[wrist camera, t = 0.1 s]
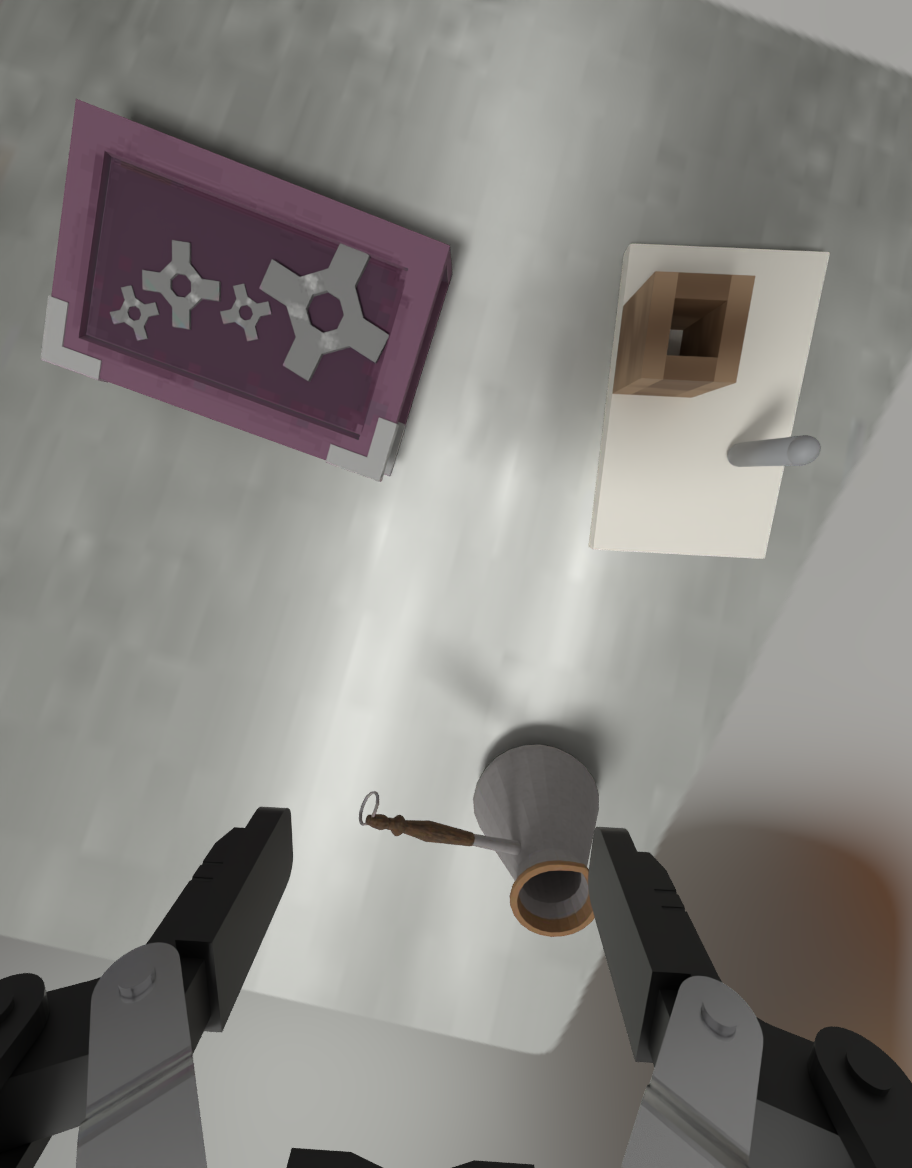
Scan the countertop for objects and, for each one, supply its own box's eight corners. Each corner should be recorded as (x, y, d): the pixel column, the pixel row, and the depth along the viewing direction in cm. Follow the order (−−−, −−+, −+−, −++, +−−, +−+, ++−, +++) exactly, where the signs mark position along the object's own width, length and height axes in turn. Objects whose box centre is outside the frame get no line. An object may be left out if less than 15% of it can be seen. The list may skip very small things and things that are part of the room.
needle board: (623, 253, 34) (684, 166, 24) (814, 261, 34) (951, 178, 24) (588, 546, 39) (627, 570, 30) (753, 555, 39) (846, 582, 29)
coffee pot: (615, 769, 44) (686, 914, 30) (544, 850, 47) (579, 1022, 32) (428, 653, 42) (407, 749, 27) (365, 745, 44) (314, 878, 30)
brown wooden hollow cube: (622, 306, 34) (655, 271, 28) (705, 309, 33) (755, 275, 28) (612, 393, 35) (640, 378, 29) (691, 397, 35) (736, 382, 29)
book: (95, 374, 38) (40, 359, 33) (129, 150, 34) (72, 96, 29) (390, 480, 39) (379, 481, 34) (454, 276, 35) (451, 245, 30)
